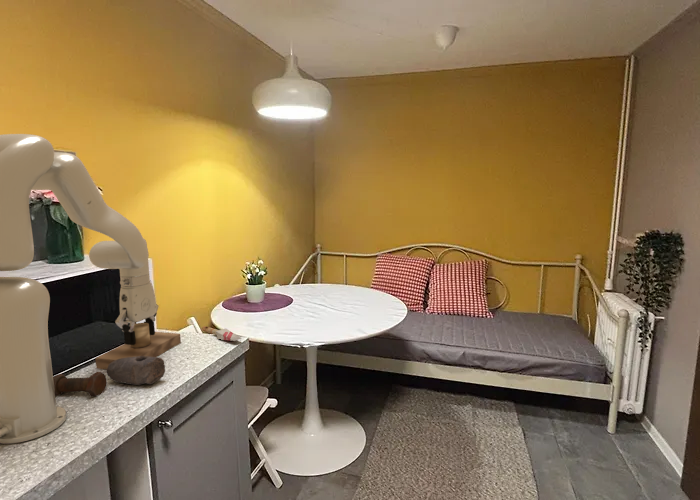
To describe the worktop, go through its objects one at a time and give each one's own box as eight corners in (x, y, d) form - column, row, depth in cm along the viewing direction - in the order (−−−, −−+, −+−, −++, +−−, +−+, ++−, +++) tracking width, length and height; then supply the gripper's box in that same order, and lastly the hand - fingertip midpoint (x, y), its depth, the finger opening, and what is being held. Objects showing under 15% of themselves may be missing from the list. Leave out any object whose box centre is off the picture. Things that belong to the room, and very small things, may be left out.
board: (130, 372, 114) (129, 361, 114) (96, 368, 117) (95, 358, 116) (180, 342, 135) (180, 333, 135) (150, 340, 138) (150, 331, 137)
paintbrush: (232, 336, 132) (199, 326, 145) (233, 345, 132) (199, 333, 145) (243, 333, 135) (209, 323, 148) (243, 341, 135) (209, 330, 148)
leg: (142, 357, 123) (140, 329, 121) (127, 355, 124) (124, 327, 123) (154, 350, 128) (152, 323, 126) (139, 349, 129) (137, 322, 128)
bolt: (44, 398, 104) (104, 397, 103) (28, 397, 100) (90, 396, 99) (50, 373, 106) (108, 372, 106) (35, 371, 102) (96, 370, 101)
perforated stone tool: (101, 385, 107) (98, 359, 106) (115, 376, 112) (113, 351, 111) (155, 389, 104) (153, 363, 103) (168, 380, 109) (166, 354, 108)
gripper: (124, 288, 113) (129, 351, 116) (166, 275, 130) (170, 330, 133) (100, 287, 115) (106, 349, 118) (145, 274, 132) (149, 328, 134)
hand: (140, 338), depth 125 cm, fingers open, 7 cm apart
